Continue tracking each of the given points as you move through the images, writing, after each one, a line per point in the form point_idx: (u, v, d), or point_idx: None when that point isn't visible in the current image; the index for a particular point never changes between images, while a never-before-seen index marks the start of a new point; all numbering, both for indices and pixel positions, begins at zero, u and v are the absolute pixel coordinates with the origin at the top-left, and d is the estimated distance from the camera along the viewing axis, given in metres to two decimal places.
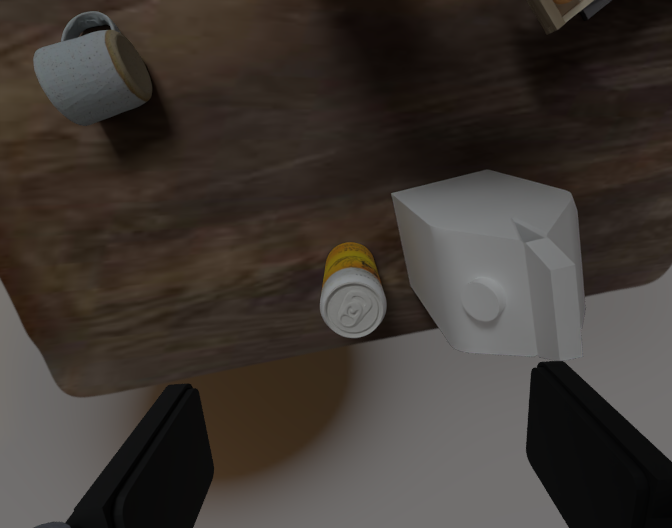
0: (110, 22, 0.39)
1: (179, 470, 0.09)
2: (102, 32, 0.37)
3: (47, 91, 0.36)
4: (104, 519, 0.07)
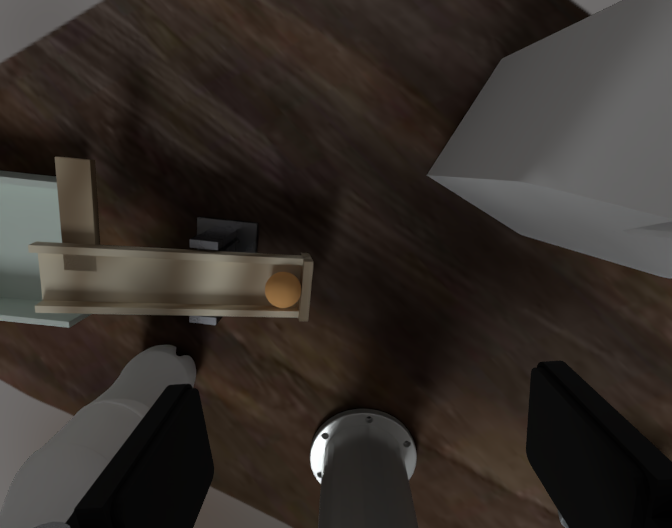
0: None
1: (179, 470, 0.09)
2: None
3: None
4: (104, 519, 0.07)
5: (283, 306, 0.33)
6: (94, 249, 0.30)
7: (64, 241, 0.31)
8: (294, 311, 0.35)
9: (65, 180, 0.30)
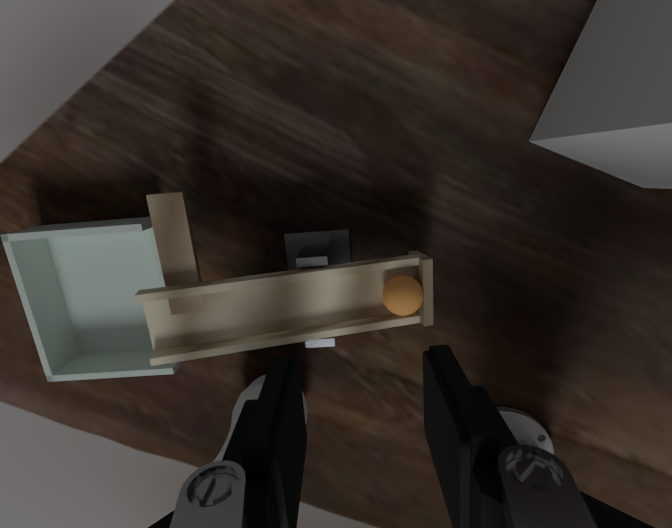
0: None
1: (295, 428, 0.10)
2: None
3: None
4: (266, 458, 0.08)
5: (408, 313, 0.30)
6: (202, 287, 0.28)
7: (167, 284, 0.28)
8: (415, 317, 0.32)
9: (160, 218, 0.27)
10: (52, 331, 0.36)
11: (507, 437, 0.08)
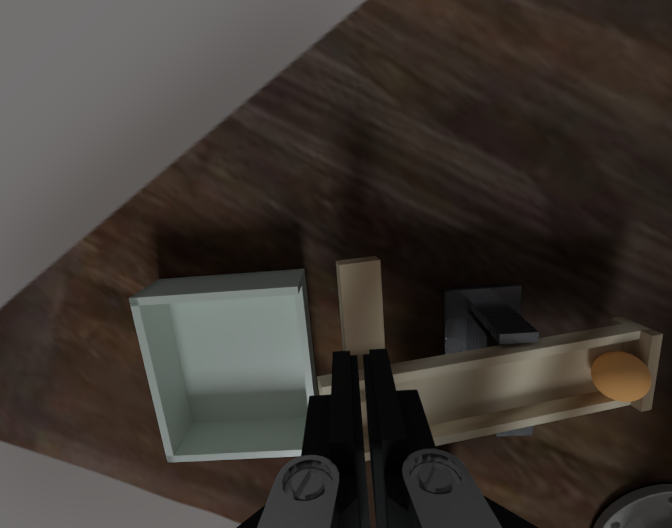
0: None
1: None
2: None
3: None
4: (354, 452, 0.08)
5: (633, 400, 0.24)
6: (397, 374, 0.23)
7: None
8: None
9: (351, 292, 0.22)
10: (172, 403, 0.31)
11: (426, 442, 0.09)
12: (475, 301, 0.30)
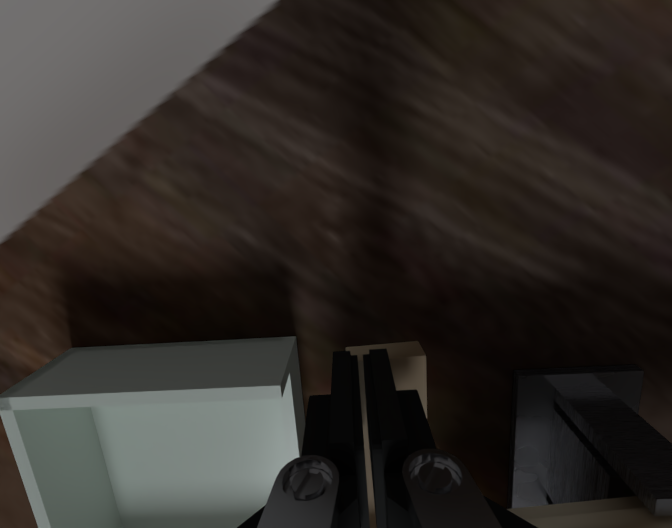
0: None
1: None
2: None
3: None
4: (354, 452, 0.08)
5: None
6: None
7: None
8: None
9: None
10: None
11: (426, 442, 0.09)
12: (571, 397, 0.18)
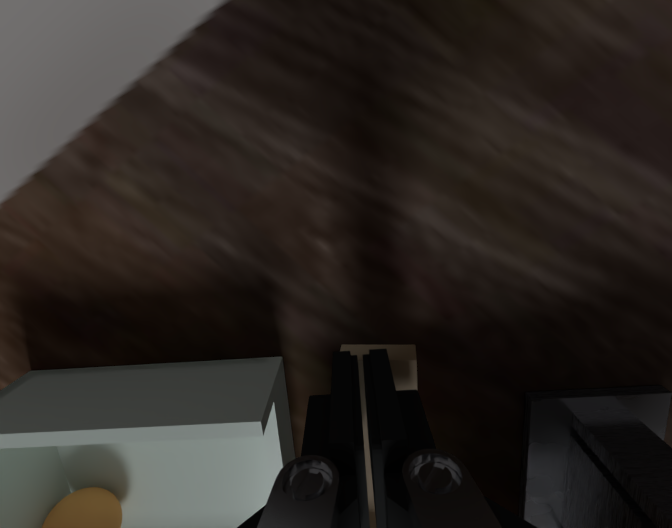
0: None
1: None
2: None
3: None
4: (354, 452, 0.08)
5: None
6: None
7: None
8: None
9: None
10: None
11: (426, 442, 0.09)
12: (591, 424, 0.16)
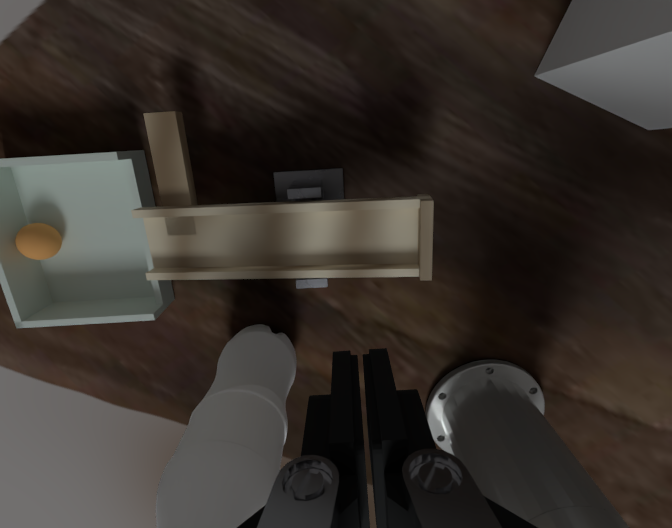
0: None
1: None
2: None
3: None
4: (354, 452, 0.08)
5: (28, 257, 0.33)
6: (189, 209, 0.28)
7: (163, 204, 0.29)
8: (412, 269, 0.28)
9: (156, 138, 0.28)
10: (20, 274, 0.33)
11: (426, 442, 0.09)
12: (297, 180, 0.33)
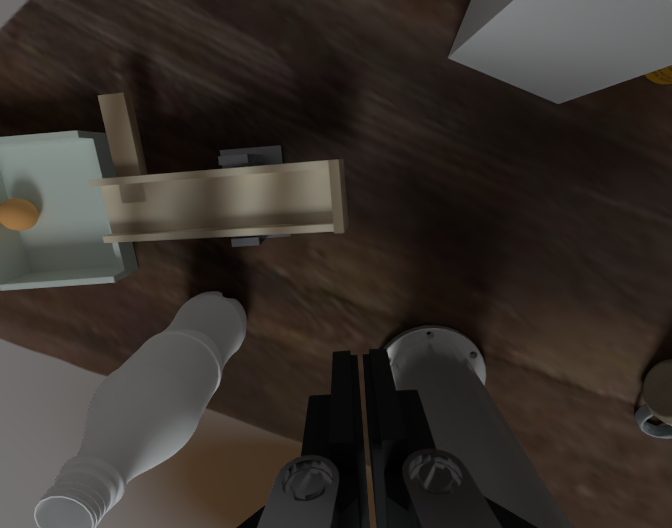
0: (644, 420, 0.43)
1: None
2: None
3: None
4: (354, 452, 0.08)
5: (8, 227, 0.37)
6: (136, 177, 0.32)
7: (117, 175, 0.34)
8: (329, 224, 0.31)
9: (109, 116, 0.32)
10: (0, 243, 0.38)
11: (426, 442, 0.09)
12: None
